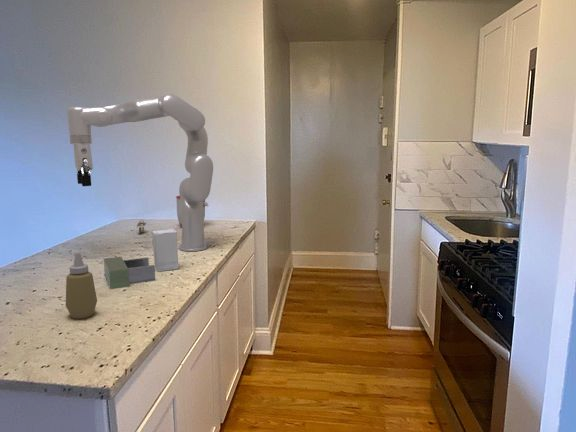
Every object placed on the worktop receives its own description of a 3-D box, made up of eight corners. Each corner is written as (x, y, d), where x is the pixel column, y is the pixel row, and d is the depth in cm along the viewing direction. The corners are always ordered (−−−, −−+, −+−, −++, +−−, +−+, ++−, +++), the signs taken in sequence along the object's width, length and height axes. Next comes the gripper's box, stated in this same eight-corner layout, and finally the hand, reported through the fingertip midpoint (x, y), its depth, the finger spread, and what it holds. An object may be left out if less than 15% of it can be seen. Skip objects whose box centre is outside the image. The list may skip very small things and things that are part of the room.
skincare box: (175, 265, 174) (174, 228, 171) (179, 269, 168) (177, 231, 166) (153, 268, 170) (151, 230, 168) (156, 272, 165) (154, 233, 162)
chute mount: (147, 269, 168) (146, 253, 167) (156, 282, 154) (156, 265, 153) (104, 274, 162) (103, 258, 161) (110, 288, 147) (109, 271, 146)
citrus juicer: (206, 230, 238) (205, 192, 235) (173, 229, 239) (172, 192, 235) (211, 224, 254) (210, 189, 250) (180, 223, 254) (179, 189, 250)
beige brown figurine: (154, 229, 240) (154, 217, 239) (153, 237, 223) (152, 224, 221) (131, 230, 237) (130, 218, 236) (127, 238, 220) (127, 225, 219)
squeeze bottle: (73, 310, 129) (68, 249, 126) (102, 309, 130) (97, 249, 127) (61, 321, 121) (56, 257, 118) (92, 320, 122) (87, 257, 119)
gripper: (95, 140, 165) (99, 186, 168) (87, 139, 179) (90, 182, 182) (73, 140, 161) (77, 187, 164) (66, 139, 175) (70, 183, 178)
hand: (84, 184), depth 173 cm, fingers open, 9 cm apart
